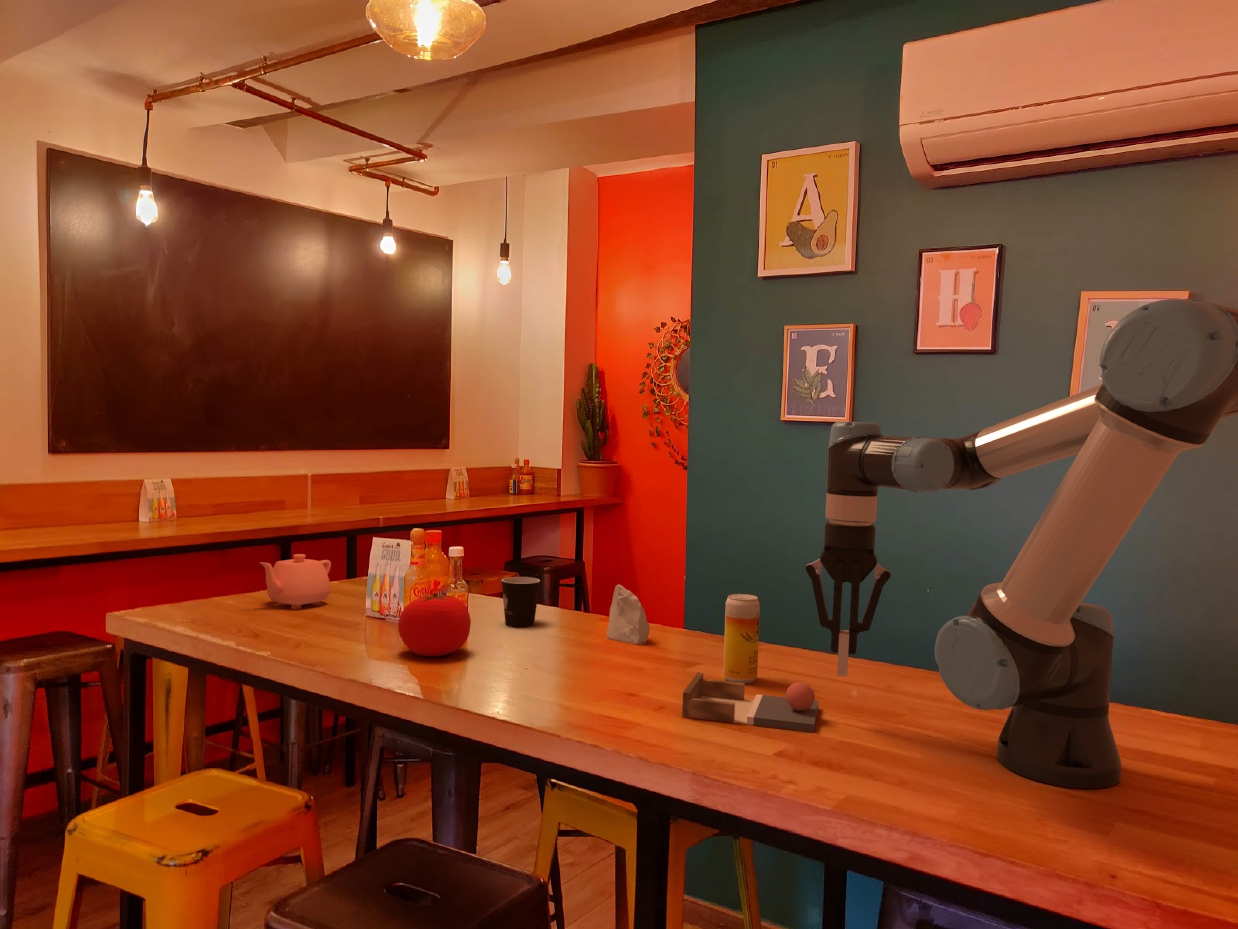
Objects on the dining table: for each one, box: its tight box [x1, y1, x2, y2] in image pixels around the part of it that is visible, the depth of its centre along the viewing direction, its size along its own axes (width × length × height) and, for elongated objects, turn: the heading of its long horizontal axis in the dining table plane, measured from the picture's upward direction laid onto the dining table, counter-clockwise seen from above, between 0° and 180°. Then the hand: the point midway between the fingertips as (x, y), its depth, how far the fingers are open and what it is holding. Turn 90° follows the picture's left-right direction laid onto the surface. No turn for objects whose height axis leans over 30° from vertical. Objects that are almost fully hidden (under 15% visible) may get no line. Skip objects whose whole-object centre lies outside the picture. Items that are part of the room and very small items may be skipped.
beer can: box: [722, 593, 761, 684], centre depth 157 cm, size 6×6×15 cm
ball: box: [785, 681, 816, 711], centre depth 137 cm, size 4×4×4 cm
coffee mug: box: [501, 576, 541, 629], centre depth 197 cm, size 12×9×10 cm
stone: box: [606, 584, 651, 646], centre depth 185 cm, size 10×5×12 cm, turn 40°
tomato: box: [397, 592, 472, 657], centre depth 169 cm, size 13×14×12 cm
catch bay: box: [681, 672, 746, 724], centre depth 140 cm, size 8×12×4 cm, turn 164°
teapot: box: [258, 553, 332, 610], centre depth 209 cm, size 13×20×12 cm, turn 147°
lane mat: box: [700, 693, 819, 733], centre depth 139 cm, size 20×12×1 cm, turn 74°
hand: (842, 673), depth 135 cm, fingers closed
